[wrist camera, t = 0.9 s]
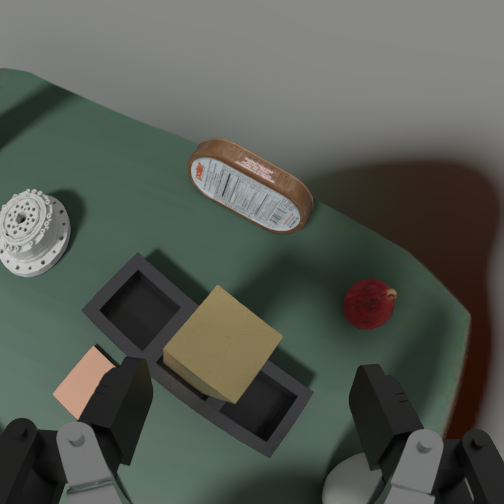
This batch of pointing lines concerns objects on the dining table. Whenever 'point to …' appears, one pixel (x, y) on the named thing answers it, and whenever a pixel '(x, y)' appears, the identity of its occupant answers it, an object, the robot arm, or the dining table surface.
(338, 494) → the glass bottle
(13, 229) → the mechanical component
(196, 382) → the brass block
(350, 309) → the pomegranate
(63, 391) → the tile
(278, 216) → the tin
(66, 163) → the dining table surface
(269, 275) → the dining table surface
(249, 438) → the compartment tray
